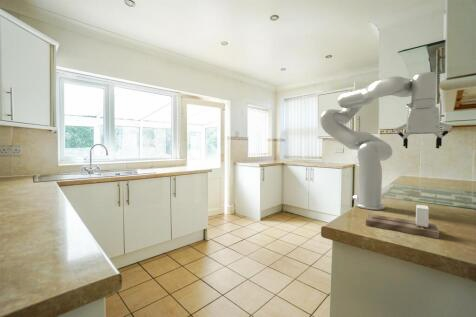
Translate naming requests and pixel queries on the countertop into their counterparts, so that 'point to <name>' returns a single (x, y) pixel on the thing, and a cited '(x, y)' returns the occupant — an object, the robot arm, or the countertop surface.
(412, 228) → the fader board
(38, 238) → the countertop surface
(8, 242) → the countertop surface
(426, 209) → the fader tab
